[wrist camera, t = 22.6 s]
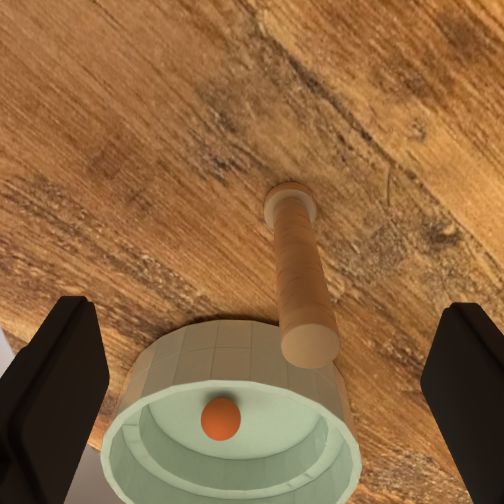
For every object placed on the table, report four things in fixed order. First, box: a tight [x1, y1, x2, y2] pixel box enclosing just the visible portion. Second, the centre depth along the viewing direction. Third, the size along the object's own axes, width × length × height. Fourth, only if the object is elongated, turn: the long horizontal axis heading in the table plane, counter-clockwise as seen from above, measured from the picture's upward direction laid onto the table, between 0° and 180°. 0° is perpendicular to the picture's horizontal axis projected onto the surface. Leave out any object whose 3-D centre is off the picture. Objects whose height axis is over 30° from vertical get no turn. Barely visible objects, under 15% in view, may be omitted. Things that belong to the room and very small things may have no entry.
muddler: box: [264, 182, 341, 368], centre depth 19 cm, size 3×3×12 cm
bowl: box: [100, 320, 362, 504], centre depth 29 cm, size 17×17×6 cm
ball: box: [201, 398, 241, 441], centre depth 30 cm, size 3×3×3 cm
